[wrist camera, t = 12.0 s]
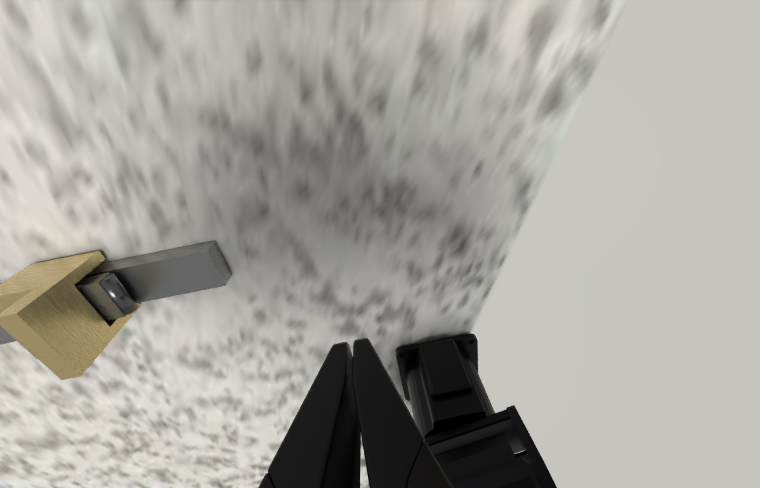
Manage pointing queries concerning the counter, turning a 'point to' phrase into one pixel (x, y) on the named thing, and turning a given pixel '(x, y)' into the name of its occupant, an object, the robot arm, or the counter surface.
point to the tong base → (169, 272)
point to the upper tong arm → (98, 299)
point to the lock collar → (57, 314)
